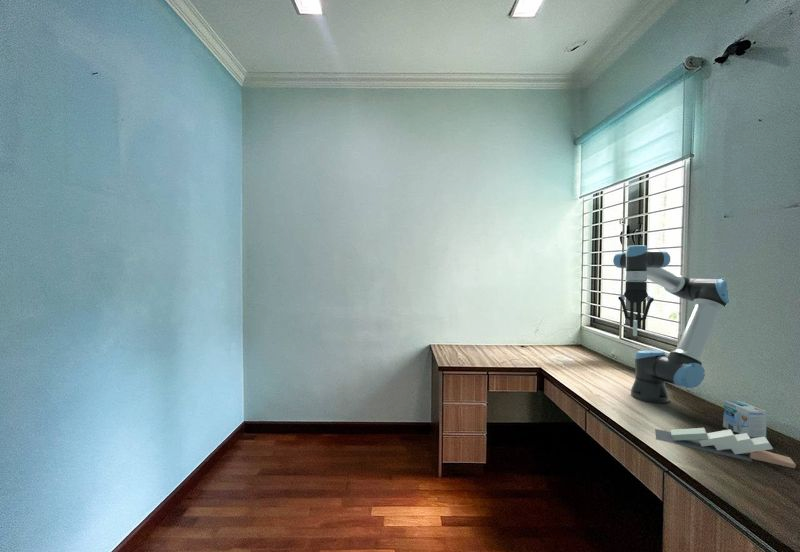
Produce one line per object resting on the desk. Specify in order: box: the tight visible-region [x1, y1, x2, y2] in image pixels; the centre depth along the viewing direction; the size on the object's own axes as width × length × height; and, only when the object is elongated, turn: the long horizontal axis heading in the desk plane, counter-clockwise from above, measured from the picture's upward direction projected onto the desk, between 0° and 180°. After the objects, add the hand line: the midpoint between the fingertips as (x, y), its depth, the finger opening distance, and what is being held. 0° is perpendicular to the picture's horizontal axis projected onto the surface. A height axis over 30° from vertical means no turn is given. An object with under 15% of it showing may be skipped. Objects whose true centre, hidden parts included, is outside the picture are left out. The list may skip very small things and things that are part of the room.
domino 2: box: [699, 429, 737, 447], centre depth 119 cm, size 5×2×10 cm
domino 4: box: [731, 437, 774, 454], centre depth 114 cm, size 5×2×10 cm
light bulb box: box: [722, 400, 768, 439], centre depth 131 cm, size 11×7×11 cm, turn 178°
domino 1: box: [670, 427, 708, 441], centre depth 123 cm, size 5×2×10 cm
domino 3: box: [714, 433, 754, 451], centre depth 117 cm, size 5×2×10 cm
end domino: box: [747, 450, 797, 469], centre depth 111 cm, size 5×2×10 cm
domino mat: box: [654, 428, 753, 462], centre depth 121 cm, size 10×25×1 cm, turn 55°
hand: (635, 335), depth 148 cm, fingers closed
